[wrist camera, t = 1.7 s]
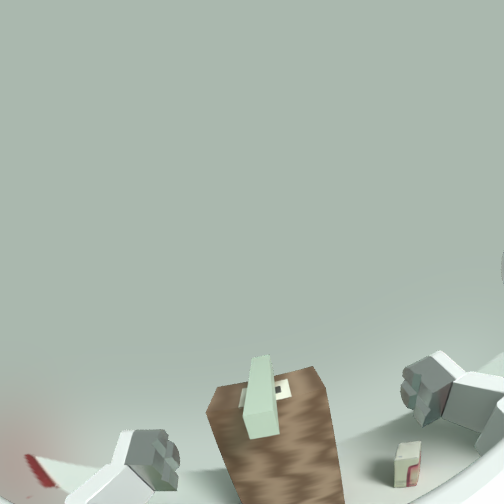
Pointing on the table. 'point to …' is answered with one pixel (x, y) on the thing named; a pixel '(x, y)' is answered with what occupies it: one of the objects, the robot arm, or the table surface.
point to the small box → (407, 464)
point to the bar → (261, 400)
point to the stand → (280, 444)
